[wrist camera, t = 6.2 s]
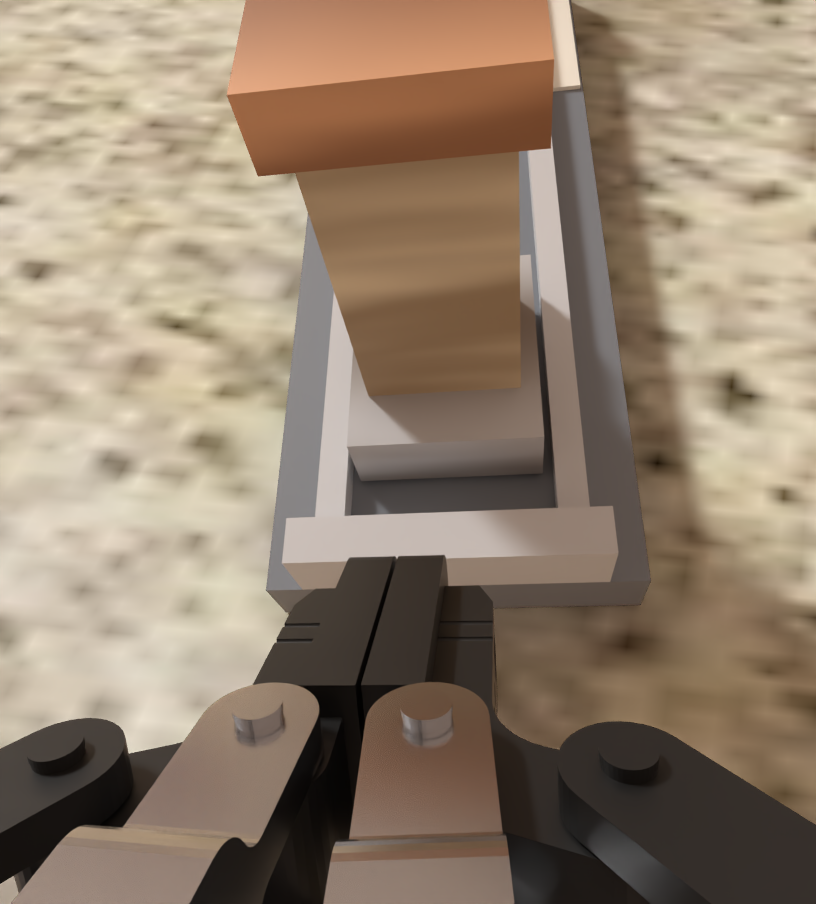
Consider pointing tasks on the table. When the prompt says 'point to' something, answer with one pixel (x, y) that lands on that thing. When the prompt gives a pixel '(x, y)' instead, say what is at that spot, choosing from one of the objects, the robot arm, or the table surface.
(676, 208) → the table surface
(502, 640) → the table surface
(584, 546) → the track
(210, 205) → the table surface
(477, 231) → the slider
